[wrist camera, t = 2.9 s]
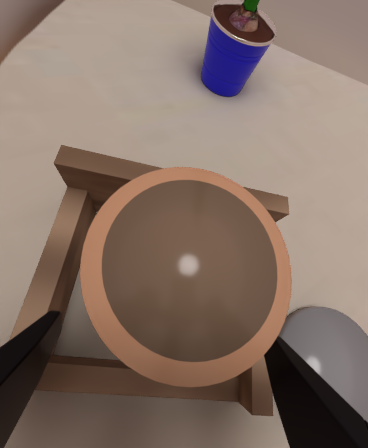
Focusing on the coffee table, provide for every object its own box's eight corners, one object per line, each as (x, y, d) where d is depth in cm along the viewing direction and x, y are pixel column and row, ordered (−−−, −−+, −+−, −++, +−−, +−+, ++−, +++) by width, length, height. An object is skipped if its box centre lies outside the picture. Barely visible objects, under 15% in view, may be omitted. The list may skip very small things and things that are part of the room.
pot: (151, 350, 17) (187, 461, 5) (99, 280, 18) (28, 238, 6) (211, 290, 20) (326, 272, 8) (163, 232, 21) (202, 138, 9)
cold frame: (244, 392, 17) (307, 444, 11) (22, 377, 15) (-64, 435, 8) (245, 226, 23) (287, 197, 17) (84, 194, 20) (61, 145, 14)
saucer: (341, 485, 17) (355, 498, 16) (247, 369, 18) (254, 373, 17) (390, 371, 21) (404, 375, 20) (310, 284, 22) (319, 283, 21)
